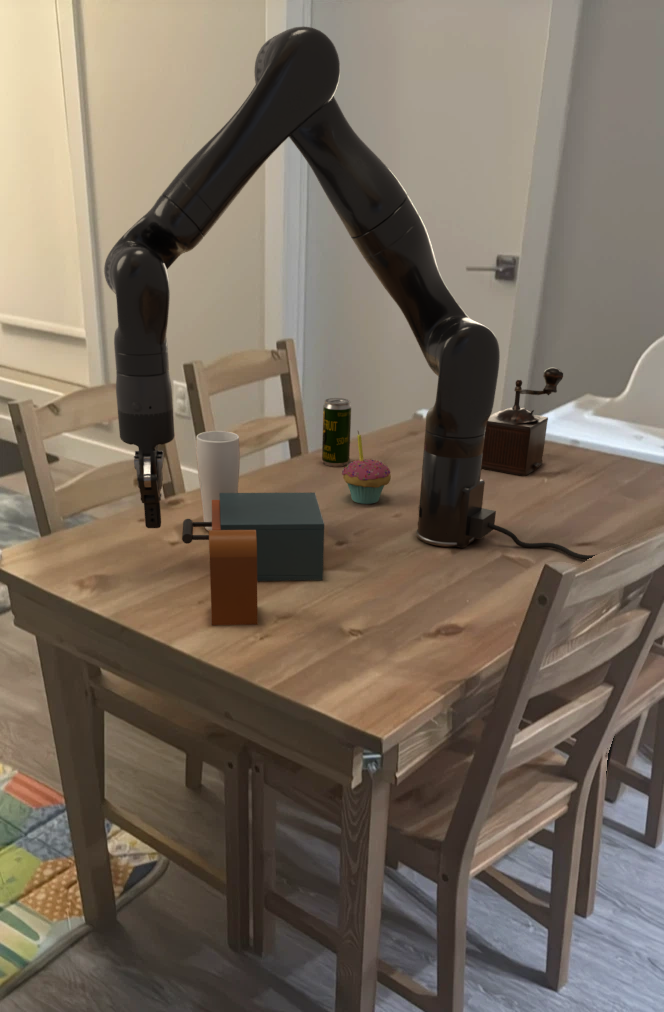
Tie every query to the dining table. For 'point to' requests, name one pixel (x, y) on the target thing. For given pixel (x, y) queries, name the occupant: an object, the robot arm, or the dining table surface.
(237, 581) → the bread
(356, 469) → the cupcake
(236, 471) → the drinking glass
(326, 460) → the green drink can
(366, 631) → the dining table surface
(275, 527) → the cabinet
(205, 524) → the drawer
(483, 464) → the manual coffee grinder
